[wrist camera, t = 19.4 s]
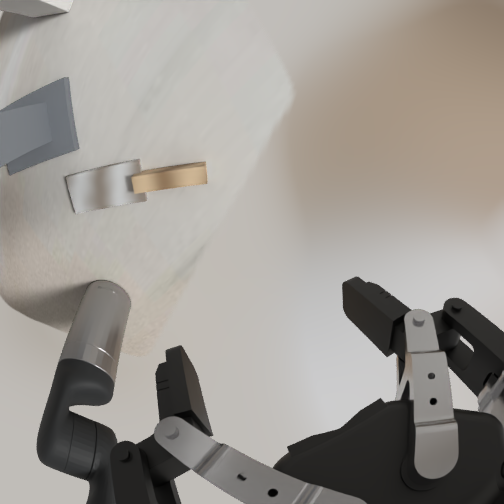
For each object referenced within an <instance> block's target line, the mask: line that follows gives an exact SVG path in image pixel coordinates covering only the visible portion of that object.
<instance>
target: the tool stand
mask: <svg viewBox="0 0 504 504" xmlns="http://www.w3.org/2000/svg"><path fill="white" fill-rule="evenodd" d="M77 149H79V144H78V139H77V134H76V128H75V122H74V116H73V109H72V102H71V94H70V85H69V78H68V77H64V78H62V79H59V80H57V81H55V82H52V83H50V84H48V85H46V86H44V87H42V88H40V89H38V90H36V91H34V92H32V93H30V94H28V95H26V96H24V97H23V98H21V99H19V100H17V101H15V102H14V103H12V104H10V105H9V106H7V107H5V108H4V109H2V110H0V167H2V166H3V165H5V164H7V167H8V171H9V175H12V174H14V173H16V172H19V171H21V170H24V169H26V168H28V167H31V166H33V165H36V164H38V163H41V162H44V161H46V160H49V159H52V158H55V157H58V156H60V155H63V154H66V153H69V152H72V151H75V150H77Z"/></svg>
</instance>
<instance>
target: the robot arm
mask: <svg viewBox="0 0 504 504" xmlns="http://www.w3.org/2000/svg"><path fill="white" fill-rule="evenodd" d="M342 290H343V309H344V312H345V314H346V316H347V317H348V318H349V319H350V320H351V321H352V322H353V323H354V324H355V325H356V326H357V327H358V328H359V329H360V330H361V331H362V332H363V333H364V334H365V335H366V336H367V337H368V338H369V339H370V340H371V341H372V342H373V343H374V344H375V345H376V346H377V347H378V349H379V350H381V351H382V353H383V354H384V355H385V356H386V357H388V356H390V355H391V354H393V353H395V354H397V359H396V361H397V393H396V398H395V401H390V402H386V403H384V402H383V401H382V399H381V398H380V399H378V400H377V401H375V402H373V403H372V404H370V405H369V406H367V407H365V408H364V409H362V410H360V411H359V412H358V413H357V414H356V415H355V416H354V417H353V418H352V419H351V420H349V421H348V422H347V423H346V424H345V425H344V426H343V427H341V428H340V429H337V430H334V431H330V432H326V433H322V434H318V435H313V436H310V437H308V438H306V439H304V440H301V441H299V442H297V443H295V444H292V445H290V446H288V447H287V448H288V451H289V453H287V454H286V455H284V456H283V457H282V458H281V459H280V460H279V461H278V462H277V463H276V464H275V465H274V467H273V468H271V467H269V466H266V465H264V464H262V463H260V462H258V461H256V460H254V459H252V458H251V457H248V456H247V455H245V454H243V453H241V452H239V451H237V450H236V449H234V448H232V447H230V446H228V445H226V444H220V443H218V442H216V441H215V440H213V439H212V438H210V436H213V433H212V430H211V426H210V423H209V419H208V415H207V411H206V408H205V404H204V400H203V396H202V392H201V388H200V384H199V379H198V376H197V373H196V371H195V369H194V366H193V365H192V363H191V361H190V359H189V358H188V356H187V354H186V352H185V350H184V349H183V347H182V346H177V347H174V348H170V349H167V350H166V362H164V363H161V364H159V365H158V368H157V371H156V373H155V375H156V384H157V385H156V388H157V399H158V409H159V419H160V421H159V423H158V424H157V426H156V427H155V431H154V434H153V435H151V436H150V437H148V438H147V439H145V440H143V441H141V442H139V443H138V444H134V443H133V442H130V441H122V442H120V443H117V439H116V436H115V434H114V432H113V430H112V429H110V428H109V427H107V426H105V425H103V424H100V423H98V422H95V421H93V420H90V419H88V418H85V417H83V416H81V415H78V414H76V413H74V412H71V411H69V407H70V406H74V405H91V406H100V405H104V404H107V403H109V402H110V401H111V399H112V396H113V391H114V384H115V379H116V373H117V366H118V362H119V356H120V351H121V347H122V342H123V337H124V333H125V328H126V324H127V320H128V316H129V311H130V307H131V301H130V298H129V296H128V294H127V293H126V292H125V290H124V289H122V288H121V287H120V286H118V285H117V284H115V283H112V282H109V281H103V280H100V281H95V282H93V283H91V284H90V285H89V286H88V288H87V290H86V292H85V294H84V297H83V299H82V301H81V303H80V306H79V308H78V310H77V313H76V315H75V318H74V320H73V323H72V325H71V328H70V331H69V333H68V336H67V339H66V341H65V344H64V347H63V350H62V353H61V356H60V359H59V362H58V365H57V369H56V372H55V376H54V380H53V384H52V387H51V391H50V394H49V397H48V401H47V404H46V407H45V410H44V414H43V417H42V421H41V424H40V428H39V432H38V437H37V454H38V457H39V459H40V461H41V462H42V463H43V464H44V465H46V466H48V467H51V468H53V469H55V470H58V471H60V472H63V473H66V474H69V475H71V476H74V477H77V478H80V479H84V480H87V481H89V484H90V490H89V496H88V500H87V503H86V504H181V502H180V498H179V495H178V492H177V488H176V485H175V481H174V478H176V477H178V476H180V475H181V474H183V473H185V472H187V471H188V470H190V469H192V470H193V471H194V472H196V473H197V474H199V475H200V476H201V477H203V478H204V479H206V480H207V481H209V482H210V483H212V484H213V485H215V486H216V487H218V488H220V489H221V490H223V491H224V492H226V493H228V494H229V495H231V496H233V497H234V498H236V499H238V500H240V501H241V502H243V503H245V504H504V332H503V331H502V330H500V329H499V328H498V327H497V326H496V325H494V324H493V323H492V322H491V321H489V320H488V319H487V318H486V317H484V316H483V315H482V314H481V313H479V312H478V311H477V310H475V309H474V308H473V307H472V306H470V305H469V304H467V303H466V302H465V301H463V300H462V299H459V298H450V299H448V300H447V301H446V302H445V303H444V307H443V310H440V311H437V312H434V313H429V312H427V311H425V310H421V309H415V310H411V309H409V308H408V307H407V306H405V305H404V304H403V303H402V302H400V301H399V300H397V299H396V298H395V297H394V296H391V294H390V293H388V292H387V291H385V290H384V289H383V288H382V287H380V286H379V285H377V284H374V283H371V282H367V283H366V282H364V281H363V280H362V279H360V278H359V277H354V278H352V279H350V280H347V281H345V282H343V284H342ZM460 336H462V337H463V338H464V339H466V340H467V341H468V342H469V343H470V344H471V345H472V346H473V348H474V352H473V351H472V350H471V349H470V348H469V347H468V346H467V345H465V344H464V343H463V342H462V341H461V340H460ZM448 367H450V369H451V370H452V371H453V372H454V373H455V374H456V375H457V376H458V377H459V378H460V379H461V380H462V381H463V382H464V383H465V384H466V385H467V387H468V388H469V389H470V390H471V391H472V392H473V393H474V394H475V395H476V396H477V397H478V404H479V407H478V411H479V412H477V411H469V410H461V409H454V408H453V403H452V394H451V385H450V378H449V372H448Z"/></svg>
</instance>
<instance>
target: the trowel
mask: <svg viewBox="0 0 504 504" xmlns="http://www.w3.org/2000/svg"><path fill="white" fill-rule="evenodd" d="M66 181H67V185H68V189H69V192H70V196H71V199H72V203H73V206H74V210H75V213H76V214H77V213H82V212H87V211H92V210H98V209H103V208H108V207H114V206H119V205H125V204H131V203H137V202H144V201H146V200H147V194H146V192H150V191H156V190H163V189H170V188H177V187H184V186H192V185H200V184H207V169H206V162H200V163H192V164H184V165H177V166H170V167H163V168H157V169H151V170H145V171H142V167H141V162H140V159H137V160H131V161H126V162H122V163H117V164H112V165H108V166H103V167H99V168H95V169H91V170H87V171H83V172H79V173H75V174H72V175H68V176H67V177H66Z"/></svg>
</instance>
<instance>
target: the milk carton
mask: <svg viewBox="0 0 504 504" xmlns="http://www.w3.org/2000/svg"><path fill="white" fill-rule="evenodd" d="M72 3H73V0H0V10H1V11H6V12H11V13H16V14H21V15H25V16H29V17H33V18H35V17H40V16H45V15H51V14H57V13H64V12H69V10H70V8H71V5H72Z"/></svg>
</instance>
